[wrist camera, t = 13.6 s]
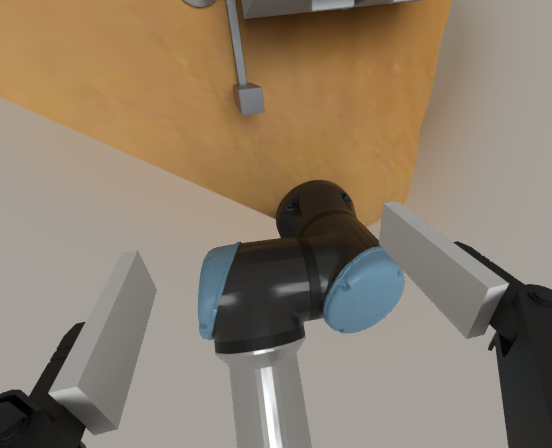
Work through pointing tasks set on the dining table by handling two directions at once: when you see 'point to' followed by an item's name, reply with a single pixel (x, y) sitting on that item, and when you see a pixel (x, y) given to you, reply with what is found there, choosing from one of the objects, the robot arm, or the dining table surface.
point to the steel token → (199, 2)
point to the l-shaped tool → (242, 70)
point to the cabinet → (303, 6)
